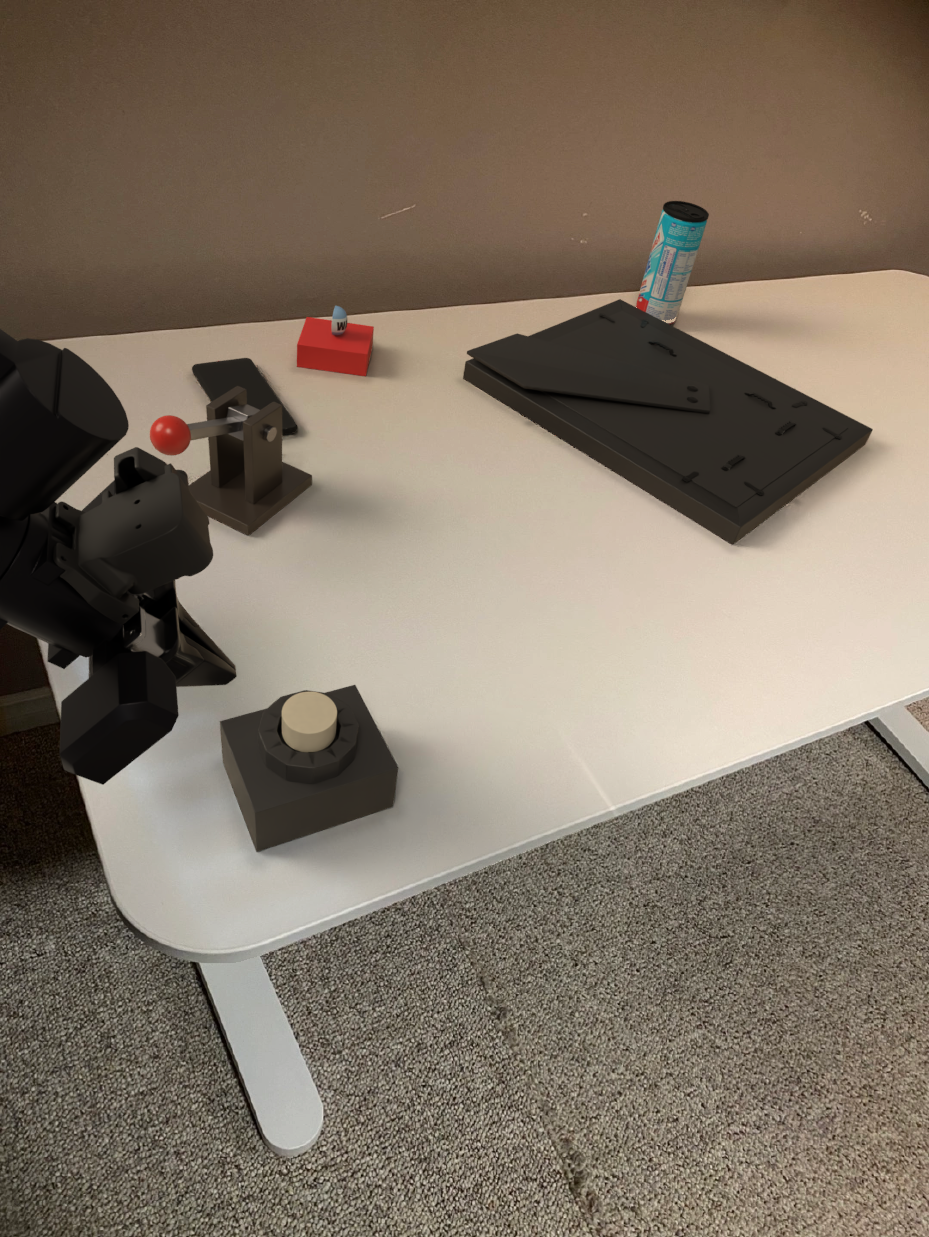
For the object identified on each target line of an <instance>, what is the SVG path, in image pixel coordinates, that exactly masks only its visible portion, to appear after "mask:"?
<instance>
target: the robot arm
mask: <svg viewBox="0 0 929 1237" xmlns="http://www.w3.org/2000/svg"><path fill="white" fill-rule="evenodd" d="M129 425H130V424H129V419H128V415H127V412H126V410H125V408H124V406H123V403H122V402H121V400H120V398H119V397H118V395H117V394H116V393H115V391H114V390H113V388H112V387H111V386H110V385H109V383H108V382H107V381H106V380H105V378H103V376H102V375H100V373H99V372H97V371H96V369H95V368H93V367H92V365H91V364H89V363H87V361H85V360H84V359H83V358H81V356H79V355H77V353H75V352H73V351H72V350H71V349H69V348H67V347H64V348H62V349H61V348H60V347H57V346H55V345H54V344H52V343H50V342H47V341H44V340H41V339H37V338H31V337H27V338H21V339H19V340H17V339H15V337H13V336H11V335H10V334H8V333H7V332H6V331H4V330H3V329H2V328H0V631H1V630H2V629H3V628H4V627H5V626H6V625H7V626H8V625H9V626H11V627H13V628H14V629H16V630H19V631H21V632H24V633H25V634H28V635H30V636H32V637H34V638H36V639H38V640H40V641H42V642H44V643H46V644H47V663H50V664H51V665H54V666H56V667H58V668H60V669H63V670H65V669H67V668H68V667H69V666H70V665H71V664H72V663H73V662H75V660H77V659H78V658H79V657H83V658H88V678H87V679H86V680H84V682H82V683H81V684H80V685H79V686H78V687H76V688H75V689H74V690H73V691H71V693H69V694H68V695H67V696H66V697H65V698H63V699H62V700H61V701H60V725H59V726H60V727H59V728H60V729H59V758H60V761H61V764H62V768H63V770H64V771H66V772H68V773H70V774H73V775H75V776H78V777H80V778H82V779H86V780H89V781H90V782H91V781H92V782H94V783H97V784H100V785H105V784H106V783H107V782H109V781H110V780H111V779H112V778H114V777H115V776H117V775H118V774H119V773H120V772H122V771H123V770H124V769H126V768H127V767H128V766H129V765H130V764H132V763H133V762H134V761H135V760H136V759H137V758H139V757H140V756H141V755H143V754H145V752H147V751H148V750H149V749H150V748H152V747H153V746H154V745H156V744H157V743H158V742H159V741H160V740H162V739H164V737H166V736H167V735H168V734H169V733H170V732H172V731H173V728H174V726H175V724H176V722H177V720H178V718H179V715H180V714H179V703H178V689H177V688H183V687H184V688H185V687H208V686H209V687H210V686H226V685H229V684H230V683H231V682H232V681H234V680H235V679H236V678H237V676H238V675H237V667H236V664H235V663H234V662H233V661H232V660H231V659H230V658H229V657H228V656H227V655H226V653H225V652H224V651H223V649H221V648H220V646H218V644H217V643H216V642H214V640H213V639H212V638H211V637H210V636H209V635H208V633H206V631H205V630H204V629H203V628H202V627H201V626H200V625H199V624H198V623H197V621H196V620H195V619H194V618H193V616H191V614H190V613H189V612H188V611H187V610H186V608H185V607H184V606H183V605H182V604H181V602H180V600H179V598H178V593H177V585H176V581H177V580H178V579H181V578H183V577H193V576H195V575H198V574H199V573H201V572H203V571H204V570H206V569H207V568H208V567H209V565H211V563H212V561H213V558H214V549H213V546H212V543H211V536H210V529H209V525H210V517H209V516H207V515H206V513H205V512H204V510H203V509H202V508H201V506H200V505H199V504H198V502H197V501H196V499H195V498H194V497H193V495H192V494H191V492H190V491H189V485H190V484H189V483H190V482H189V475H188V473H187V472H186V471H185V470H183V469H177V468H175V467H174V465H173V464H172V463H167V462H165V461H164V460H163V459H161V458H160V457H159V458H158V457H157V456H155V455H153V454H151V453H150V452H148V451H146V450H144V449H142V448H140V447H138V446H135V447H133V448H130V449H128V450H126V451H124V452H121V453H119V454H117V455H115V456H114V457H113V478H114V480H113V481H111V483H109V484H108V485H107V486H106V487H105V488H104V489H102V491H100V493H98V494H97V496H95V497H94V498H93V499H92V500H91V501H90V502H89V503H88V504H87V505H85V507H84V508H82V510H80V509H77V508H75V507H74V506H72V505H71V504H68V503H66V502H65V501H59V502H56V501H58V499H60V497H62V495H64V494H65V493H66V492H67V491H68V490H69V489H70V488H72V486H73V485H74V484H75V483H77V482H78V481H79V480H80V479H81V478H82V477H83V476H84V475H85V474H86V473H87V472H89V471H90V469H91V468H93V466H94V465H95V464H97V463H98V462H99V461H100V460H101V459H102V458H103V457H105V455H106V454H107V453H109V451H111V450H112V449H113V448H114V447H115V446H116V445H117V444H118V443H119V442H120V441H121V440H122V439H124V438H125V436H127V433H128V431H129V427H130V426H129Z"/></svg>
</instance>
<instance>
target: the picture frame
mask: <svg viewBox="0 0 929 1237" xmlns="http://www.w3.org/2000/svg"><path fill="white" fill-rule="evenodd" d="M466 355H468V357H471V359H467V360H466V361H465V363H464V368H463V369H464V370H463V374H462V379H463V380H465V381H466V382H468V383H470V384H471V385H472V386H475V387H476V388H478V389H479V390H481V391H483V392H484V393H486V394H488V395H489V396H491V397H492V398H494V399H495V400H497V401H499V402H500V403H502V404H504V406H507V407H508V408H510V409H511V410H513V411H515V412H516V413H518V414H520V415H522V416H523V417H525V418H526V419H528V420H529V421H531V422H533V423H535V424H536V425H538V426H539V427H541V428H543V429H544V430H546V431H547V432H549V433H551V434H552V435H554V436H555V437H557V438H559V439H560V440H561V441H563V442H565V443H567V444H569V445H570V446H572V447H573V448H575V449H577V450H578V451H580V452H581V453H583V454H585V455H586V456H587V457H589V458H591V459H593V460H594V461H595V462H598V463H599V464H601V466H604V467H606V468H607V469H609V470H610V471H613V472H614V473H616V475H619V476H620V477H622V478H624V479H625V480H627V482H628V481H629V483H632V484H633V485H635V486H637V487H638V488H640V490H642V491H645V492H646V493H648V494H649V495H651V496H653V497H654V498H656V499H657V500H659V501H660V502H663V503H664V504H666V505H667V506H669V507H670V508H672V509H674V510H676V511H677V512H679V513H680V514H682V515H684V516H685V517H687V518H688V519H689V520H692V521H693V522H695V523H696V524H698V525H700V526H701V527H703V528H704V529H706V530H708V531H710V532H711V533H713V534H714V535H716V536H717V537H719V538H721V539H722V540H723V541H726V542H727V543H729V544H730V545H734V544H736V543H737V542H738V541H740V540H741V539H742V538H744V537H745V536H746V535H748V534H749V533H750V532H752V531H754V529H756V528H757V527H758V526H760V525H761V524H762V523H764V522H765V521H766V520H767V519H769V518H770V517H772V516H773V515H774V514H776V513H777V512H778V511H779V510H781V509H782V508H783V507H785V506H786V505H787V504H789V503H790V502H791V501H793V500H794V499H796V498H797V497H798V496H799V495H801V494H802V493H804V492H805V491H806V490H807V489H809V488H810V487H811V486H813V485H814V484H816V482H818V481H819V480H820V479H822V478H823V477H825V476H826V475H827V474H829V473H830V472H831V471H833V470H834V469H835V468H836V467H838V466H839V465H840V464H842V463H843V462H844V461H846V460H847V459H848V458H850V457H851V456H853V454H855V453H856V452H858V451H859V450H861V448H863V447H865V446H866V444H867V443H868V440H869V438H870V436H871V434H872V432H873V428H871V427H870V426H868V425H866V424H864V423H862V422H860V421H858V420H856V419H854V418H852V417H850V416H848V415H846V414H844V413H842V412H841V411H839V410H837V409H835V408H833V407H831V406H829V405H827V404H825V403H823V402H821V401H820V400H817V399H815V398H813V397H811V396H809V395H807V394H806V393H804V392H801V391H799V390H798V389H796V388H793V387H792V386H790V385H788V384H787V383H784V382H783V381H781V380H778V379H776V378H774V377H772V376H771V375H769V374H767V373H765V372H762V371H761V370H759V369H757V368H754V367H753V366H752V365H750V364H747V363H745V362H743V361H741V360H739V359H737V358H735V357H733V356H732V355H730V354H728V353H726V352H724V351H722V350H721V349H719V348H716V347H714V346H712V345H710V344H708V343H706V342H704V341H702V340H700V339H699V338H697V337H694V336H692V335H691V334H689V333H687V332H685V331H683V330H681V329H679V328H677V327H675V326H674V325H672V326H671V325H669V324H667V323H666V322H664V321H662V320H660V319H658V318H656V317H654V316H652V315H650V314H648V313H646V312H644V311H642V310H640V309H638V308H636V307H635V305H632V304H630V303H628V302H626V301H625V300H623V299H621V298H619V299H617V300H614V301H611V302H609V303H607V304H604V305H602V306H599V307H597V308H594V309H592V310H589V311H587V312H585V313H582V314H579V315H577V316H574V317H572V318H570V319H567V320H565V321H562V322H559V323H557V324H554V325H553V326H550V327H547V328H545V329H542V330H540V331H537V332H535V333H532V334H530V335H525V334H521V333H514V334H511V335H508V336H505V337H502V338H500V339H497V340H494V341H491V342H489V343H486V344H483V345H479V346H477V347H474V348H472V349H469V350H467V351H466Z"/></svg>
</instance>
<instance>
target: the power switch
mask: <svg viewBox="0 0 929 1237" xmlns="http://www.w3.org/2000/svg"><path fill="white" fill-rule="evenodd" d="M258 411H260V410H259V409H256V408H254V407H252V406H250V405H240V406H233V407H229V408H228V412H227V418H221V419H215V420H209V421H207V420H204V421H198V422H197V421H196V422H192V423H186V421H185V420H183V419H182V418H181V417H179V416H176V415H172V414H171V415H170V414H168V415H163V416H160V417H158V418H157V419H156V420H154V421H153V422H152V424H151V426H150V429H149V440H150V443H151V445H152V447H153V448H154V449H155V450H156V451H157V452H159V453H160V454H162V455H165V456H172V457H173V456H179V455H180V454H183V452H185V451H186V450H187V449H188V448H189V446H190V444H191V441H196V440H201V439H206V438H207V439H208V437H212V436H218V435H223V434H229V435H231V436H233V437H236V438H238V439H240V440H242V441H244V440H243V422H244V421H245V420H247V419H248V418H250V417H251V416H253V415H254V414H255V413H257V412H258Z"/></svg>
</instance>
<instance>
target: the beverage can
mask: <svg viewBox="0 0 929 1237" xmlns="http://www.w3.org/2000/svg"><path fill="white" fill-rule="evenodd" d="M709 217H710V214H709V211H707V209H705V208H704V207H702V206H700V205H697V204H695V203H692V202H688V201H682V200H669V201H665V202H664V203H663V204H662V210H661V212H660V217H659V220H658V223H657V226H656V230H655V234H654V237H653V240H652V245H651V249H650V252H649V256H648V258H647V259H648V260H647V263H646V267H645V271H644V274H643V278H642V282H641V285H640V289H639V292H638V295H637V296H638V297H637V300H636V303H635V306H636V307H637V308H638V309H640V310H642V311H644V312H646V313H648V314H650V315H652V316H654V317H656V318H658V319H660V320H665V321H666V320H670V319H671V320H672V319H674V318H675V317H677V318H678V316H679V312H680V310H681V306H682V304H683V300H684V296H685V294H686V291H687V287H688V283H689V281H690V278H691V275H692V272H693V269H694V265H695V262H696V258H697V255H698V252H699V249H700V246H701V242H702V239H703V236H704V233H705V229H706V226H707V223H708V219H709ZM676 321H677V319H676V320H675V321H674V322H671V323H667V324H669V325H671V326H674V324H675V323H676Z"/></svg>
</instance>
